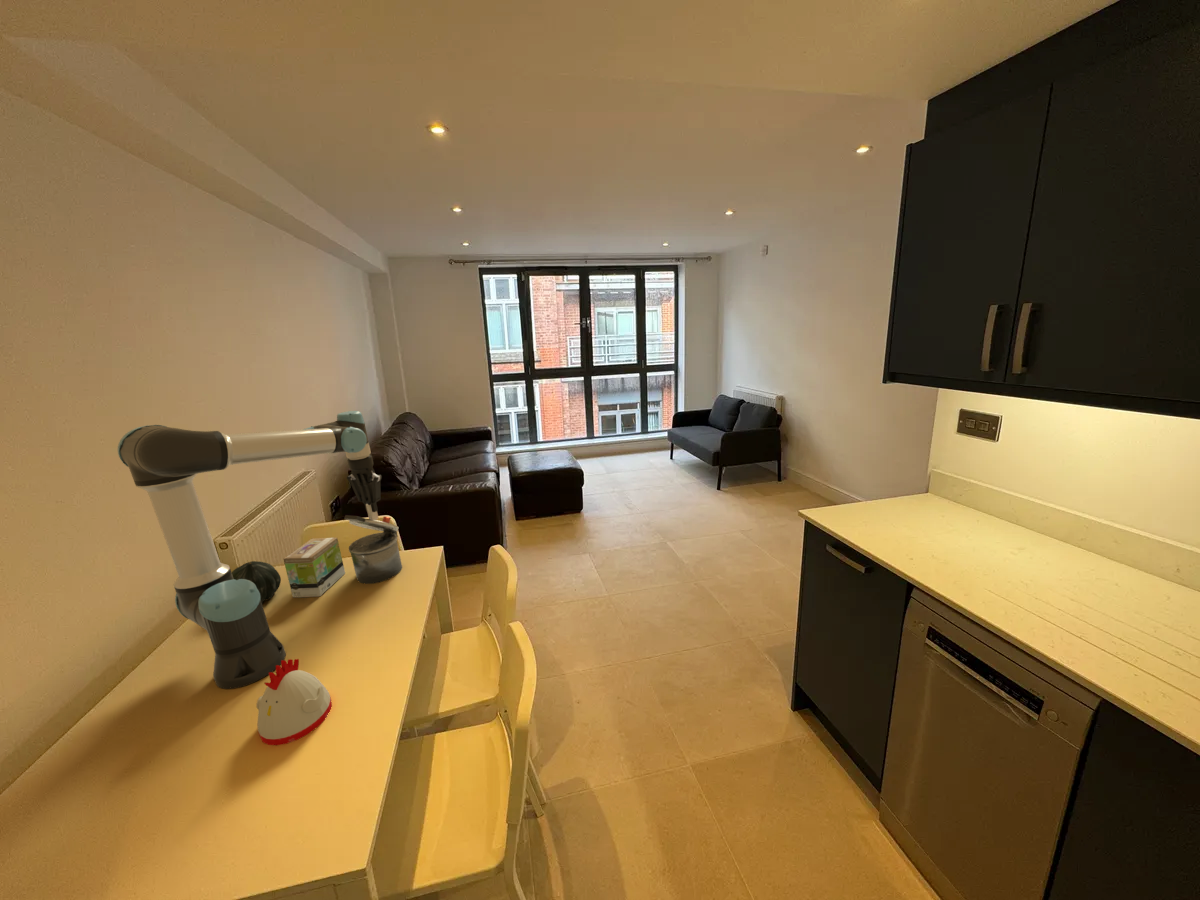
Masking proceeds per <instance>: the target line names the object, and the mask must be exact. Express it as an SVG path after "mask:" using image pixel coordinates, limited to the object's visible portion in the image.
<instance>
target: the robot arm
mask: <svg viewBox="0 0 1200 900" xmlns="http://www.w3.org/2000/svg"><path fill="white" fill-rule="evenodd" d="M338 453H340V454H341V453H345V457H346V458H347V465H348V468H349V470H351V474H349V475H348V476H346V480H347V481H348V482H349V483H350V486H351V487H352V491H353V492H354V494H355V496H356V498H357V501H358V502H359V503H362V504H364V508H365V511H366V512H367V516H368V519H371V520H377V521H378V519H379V514H378V505H377V502H379V501H381V498H382V497H381V495H382V494H381V493H382V492H381V489H382V488H381V481H382V478H383V476H382V474H376V472H375V469H374V467H373V466H374V459H373V455H371V447H370V442H369V437H368V434H367V429H366V423H365V419H364V417H363V413H362V412H361V411H358V410H349V411H344V412H340V413H337V415H336V420H334V421H332V422H327V423H323V424H318V425H314V426H310V427H306V428H303V429H292V430H276V431H274V430H273V431H261V432H260V431H259V432H247V433H228V434H225V433H223V432H222V431H220V430H212V431H211V430H210V431H209V430H208V431H204V430H190V429H184V428H178V427H168V426H166V425H160V424H152V425H148V424H147V425H142V426H138V427H135V428H133V429H131V430H129V431H127V433H125V434H124V435H123V436H122V438H121V439H120V440H119V442H118V445H117V455H118V458H119V460H120V461H121V462H122V464H124V466H126V467H127V468H128V469H129V471H130V474H131V477H132V479H133V482H134V485H135V487H136V488H139V489H142V490H144V491H146V492H147V495H148V497H149V500H150V502H151V505H152V507H153V510H154V513H155V516H156V518H157V521H158V524H159V526H160V529H161V532H162V534H163V537H164V540H165V543H166V546H167V549H168V551H169V553H170V556H171V559H172V561H173V565H174V567H175V569H176V572H177V575H178V576H177V579H175V581H174V583H173V588H174V590H175V593H176V594H175V595H174V596H175V598H174V601H175V602H174V603H175V606H176V609H177V610H178V613H180V615H182V616H183V617H184V618H185V619H187V620H190V621H191V622H193V623H195V624H196V625H198V626H199V627H201V628H203V629H204V630H206V632H207V634H208V637H209V640H210V643H211V645H212V648H213V651H214V654H215V655H214V663H213V664H214V665H213V674H212V676H213V680H214V682H215V685H216V686H217V687H218V688H220V689H225V690H230V689H237V688H242V687H245V686H248V685H251V684H253V683H256V682H258V681H259V680H262V679H263V678H265V677H266V676H269V672H272V673H274V671H276V665H280V666H281V660H285V659H286V653H287V652H286V650H285V647H284V645H283V643H282V642H281V641H280V640H279V639H278V638H277V637H276V636H275V635H274V634H273V632H272V631H271V629H270V626H269V623H268V620H267V616H266V613H265V608H264V606H263V602H261V599H260V593H259V591H258V589H257V587H256V585H255V584H254V583H253V582H251V581H249V580H246V579H239V580H235V579H234V578H233V575H232V573H231V572H232V571H231V568H230V565H229V564H225V563H223V562H221V560H220V558H219V554H218V552H217V549H216V545H215V543H214V539H213V537H212V534H211V531H210V529H209V525H208V522H207V519H206V515H205V513H204V511H203V508H202V505H201V501H200V499H199V496H198V492H197V490H196V487H195V484H194V479H195V478H196V477H197V476H198V474H201V473H202V474H203V473H208V472H217V471H223V470H226V469H227V468H228V467H229V466H231V465H239V464H249V463H257V462H258V463H259V462H266V461H274V460H282V459H283V460H284V459H291V458H292V459H293V458H303V457H309V456H317V455H325V454H326V455H328V454H338Z"/></svg>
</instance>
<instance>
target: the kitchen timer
mask: <svg viewBox="0 0 1200 900" xmlns="http://www.w3.org/2000/svg"><path fill="white" fill-rule="evenodd" d="M299 661H300V659H299V658H294V660H293V659H291V658H288V659H287V661H286V660H285V659H284V660H281V664H280V665H276V669H275V672H269V674H268V677H269V680H270V681H269V682H264V685H265V686H267V687H266V688H265V691H264V692H263V694H262V695H261V696H259V697H258V699H257V701H256V709H257V710H258V711H257V713H258V715H257V731H258V732H257V733H258V735H259V738H260V739H261V741H262V743H263V744H266V745H268V746H279V745H286V744H289V743H292V742H295V741H297V740H299V739H301V738H303V737H305V736H307V735H309V734H311V731H312V732H313V731H314V730H316V729H317V728H318V727H320V725H321V724H322V723H324V721H325V720H326V719H327V718H328V716H329V715H328V713H329V712H331V711H330V710H332V708H331V707H333V703H332V702H333V701H332V698H331V697H332V696H331V694H330V692H329V690H328V689H327V688H326V686H325V685H324V684H323V683H322V682H321V681H320V679H318V678H317V677H316V676H315V675H314V674H312V673H310V672H307V671H305V670H302V669H299ZM331 701H332V702H331ZM329 714H330V713H329ZM327 715H328V716H327ZM325 718H326V719H325ZM315 728H316V729H315Z"/></svg>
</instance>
